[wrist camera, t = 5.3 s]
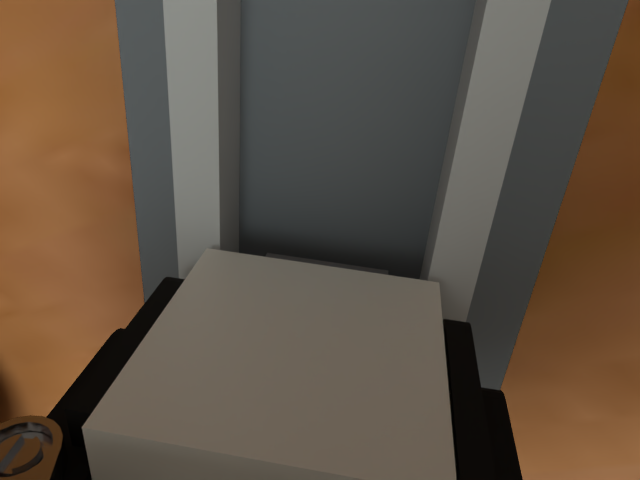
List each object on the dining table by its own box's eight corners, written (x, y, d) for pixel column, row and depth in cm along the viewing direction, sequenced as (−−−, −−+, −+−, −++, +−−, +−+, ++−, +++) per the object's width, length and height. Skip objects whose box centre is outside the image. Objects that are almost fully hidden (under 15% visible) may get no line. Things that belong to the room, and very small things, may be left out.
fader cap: (436, 247, 12) (459, 511, 6) (408, 376, 14) (407, 669, 8) (227, 218, 13) (72, 439, 7) (228, 347, 15) (107, 604, 9)
